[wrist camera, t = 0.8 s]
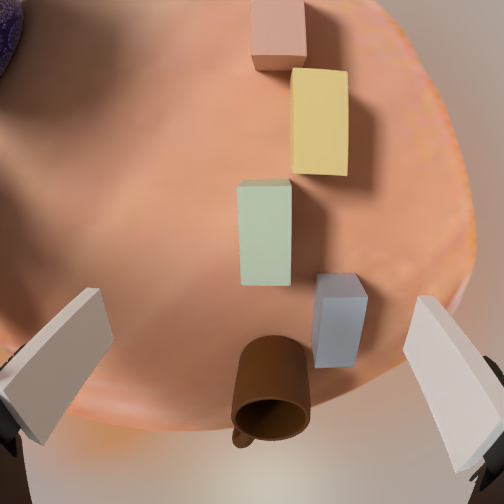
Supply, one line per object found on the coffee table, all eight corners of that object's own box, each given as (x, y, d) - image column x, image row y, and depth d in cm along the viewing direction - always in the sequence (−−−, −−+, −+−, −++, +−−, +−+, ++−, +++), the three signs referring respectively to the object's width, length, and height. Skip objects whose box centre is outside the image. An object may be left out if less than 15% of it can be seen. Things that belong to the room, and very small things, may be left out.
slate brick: (345, 337, 31) (354, 366, 27) (310, 338, 32) (315, 368, 27) (355, 272, 28) (368, 296, 24) (316, 273, 29) (323, 298, 24)
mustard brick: (334, 169, 25) (347, 175, 21) (290, 168, 25) (293, 173, 21) (334, 83, 22) (347, 71, 18) (289, 81, 23) (292, 67, 18)
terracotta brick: (301, 71, 22) (306, 55, 18) (255, 70, 23) (251, 55, 18) (298, -1, 19) (301, -26, 15) (254, -1, 20) (250, -26, 15)
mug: (268, 406, 36) (264, 463, 27) (216, 387, 35) (202, 444, 27) (318, 347, 32) (328, 410, 23) (258, 322, 31) (252, 385, 22)
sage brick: (288, 261, 29) (290, 285, 24) (246, 261, 29) (241, 285, 24) (288, 178, 26) (291, 186, 21) (243, 178, 26) (236, 186, 21)
